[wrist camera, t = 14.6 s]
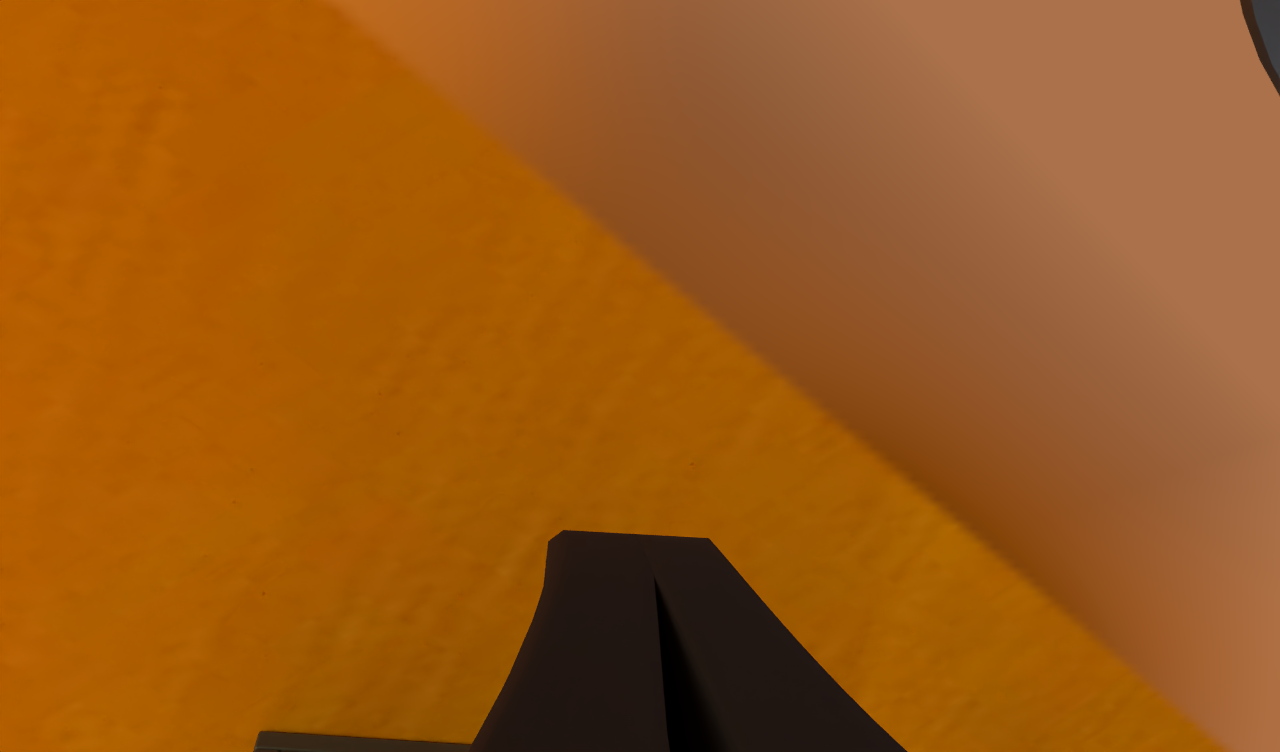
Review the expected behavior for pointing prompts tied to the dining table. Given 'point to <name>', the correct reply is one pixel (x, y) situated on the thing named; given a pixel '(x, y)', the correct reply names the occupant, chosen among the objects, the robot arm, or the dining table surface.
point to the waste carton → (345, 744)
